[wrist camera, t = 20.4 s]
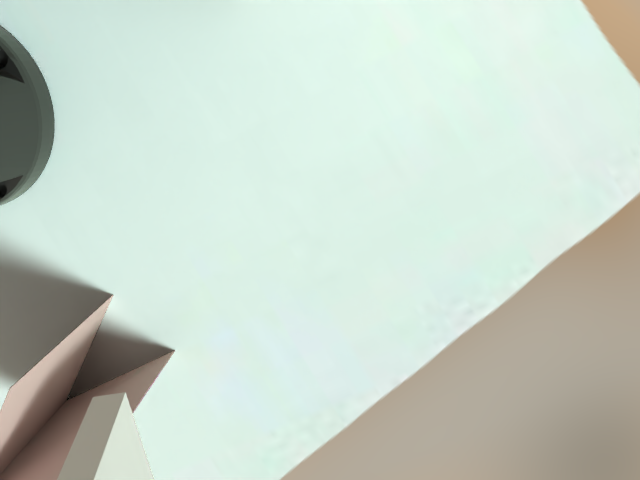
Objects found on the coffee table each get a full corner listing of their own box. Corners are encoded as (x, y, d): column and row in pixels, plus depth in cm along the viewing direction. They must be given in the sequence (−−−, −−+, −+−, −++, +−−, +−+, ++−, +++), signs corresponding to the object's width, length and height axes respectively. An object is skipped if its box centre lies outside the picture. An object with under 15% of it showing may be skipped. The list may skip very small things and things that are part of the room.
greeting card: (70, 409, 53) (-39, 537, 39) (23, 339, 52) (-110, 445, 37) (180, 358, 51) (106, 474, 37) (133, 284, 49) (38, 374, 35)
